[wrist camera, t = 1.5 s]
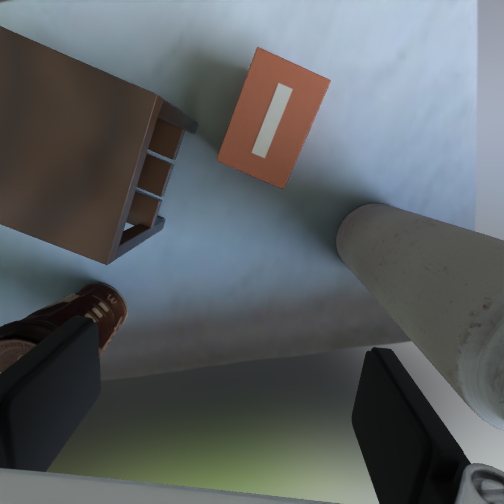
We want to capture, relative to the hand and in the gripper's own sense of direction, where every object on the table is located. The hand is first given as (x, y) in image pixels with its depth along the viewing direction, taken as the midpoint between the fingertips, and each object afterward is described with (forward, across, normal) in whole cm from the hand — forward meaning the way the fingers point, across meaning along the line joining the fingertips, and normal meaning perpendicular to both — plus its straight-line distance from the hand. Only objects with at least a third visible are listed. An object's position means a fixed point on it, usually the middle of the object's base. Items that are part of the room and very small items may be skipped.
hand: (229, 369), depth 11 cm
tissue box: (+25, -1, -10) cm, 27 cm away
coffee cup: (+25, +17, +11) cm, 32 cm away
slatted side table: (+24, +17, -7) cm, 31 cm away
